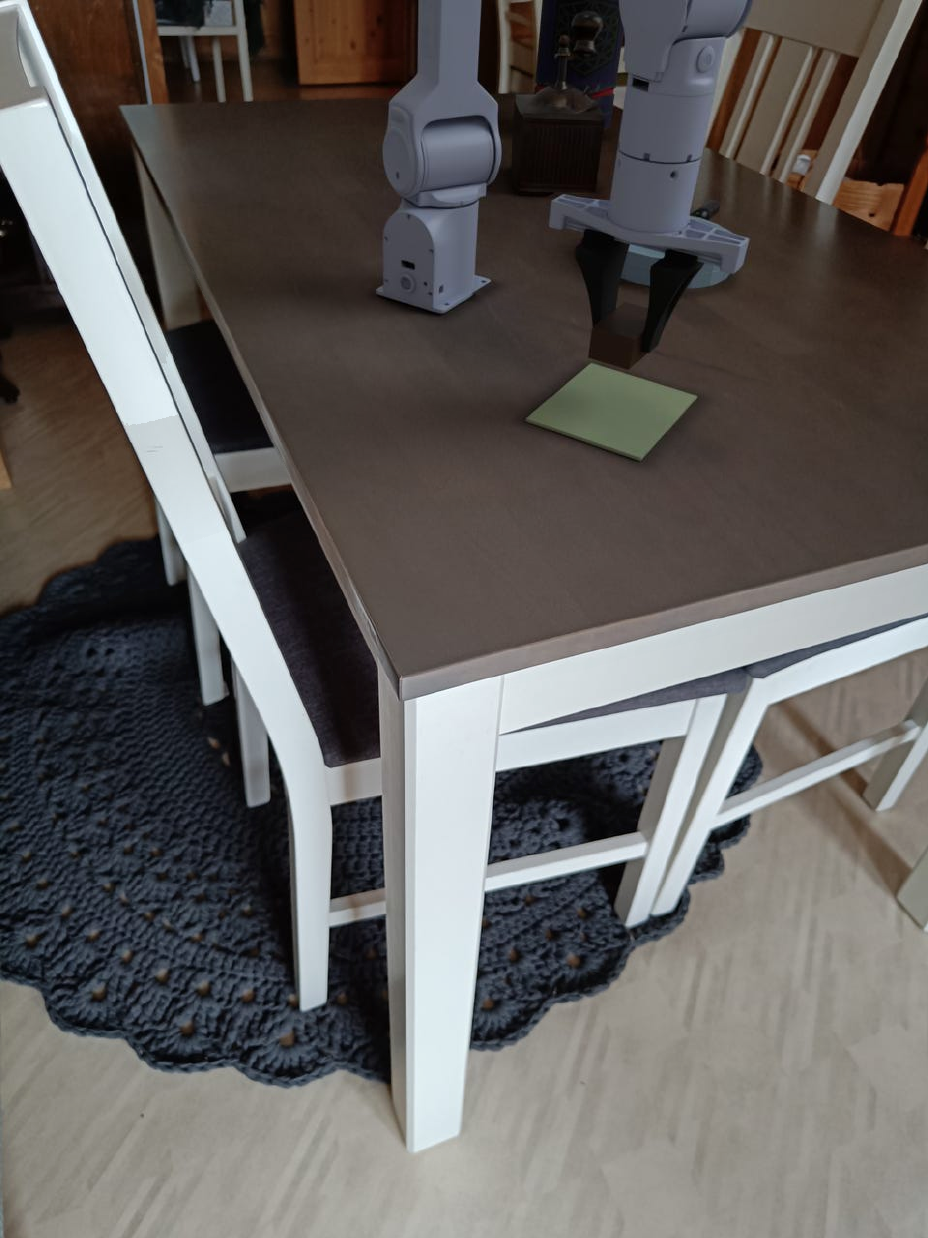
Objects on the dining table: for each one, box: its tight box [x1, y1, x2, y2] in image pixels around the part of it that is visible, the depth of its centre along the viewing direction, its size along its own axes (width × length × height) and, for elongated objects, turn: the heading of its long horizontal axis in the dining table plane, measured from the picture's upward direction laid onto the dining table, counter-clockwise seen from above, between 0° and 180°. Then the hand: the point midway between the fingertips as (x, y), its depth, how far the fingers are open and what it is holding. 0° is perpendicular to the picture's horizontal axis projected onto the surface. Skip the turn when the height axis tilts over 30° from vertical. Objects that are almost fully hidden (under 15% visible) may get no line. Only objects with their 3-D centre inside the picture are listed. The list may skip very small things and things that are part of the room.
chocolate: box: [587, 301, 648, 371], centre depth 70 cm, size 6×4×2 cm, turn 148°
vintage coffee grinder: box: [509, 11, 605, 197], centre depth 114 cm, size 16×11×18 cm
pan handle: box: [690, 199, 721, 221], centre depth 104 cm, size 8×2×2 cm, turn 148°
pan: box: [621, 215, 732, 290], centre depth 97 cm, size 15×15×4 cm
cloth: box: [525, 362, 698, 462], centre depth 74 cm, size 12×10×1 cm
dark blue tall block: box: [533, 0, 625, 132], centre depth 128 cm, size 14×12×30 cm
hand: (625, 340), depth 71 cm, fingers closed on chocolate, 3 cm apart
